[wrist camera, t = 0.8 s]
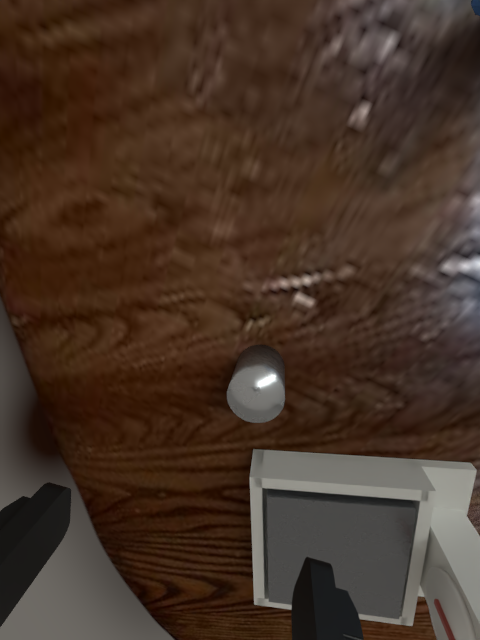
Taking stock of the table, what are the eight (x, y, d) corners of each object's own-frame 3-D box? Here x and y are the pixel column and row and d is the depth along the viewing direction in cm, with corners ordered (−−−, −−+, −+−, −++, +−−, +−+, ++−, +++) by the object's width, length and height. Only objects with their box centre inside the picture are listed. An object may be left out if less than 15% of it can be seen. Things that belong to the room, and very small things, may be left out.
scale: (470, 462, 30) (585, 603, 19) (443, 589, 35) (521, 762, 24) (253, 449, 33) (237, 562, 22) (257, 567, 38) (246, 710, 27)
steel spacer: (284, 344, 29) (284, 371, 24) (284, 388, 31) (284, 424, 25) (236, 344, 30) (225, 370, 24) (238, 387, 31) (228, 421, 26)
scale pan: (411, 498, 28) (416, 509, 27) (395, 605, 32) (399, 619, 31) (267, 487, 30) (266, 496, 29) (269, 589, 34) (268, 601, 33)
